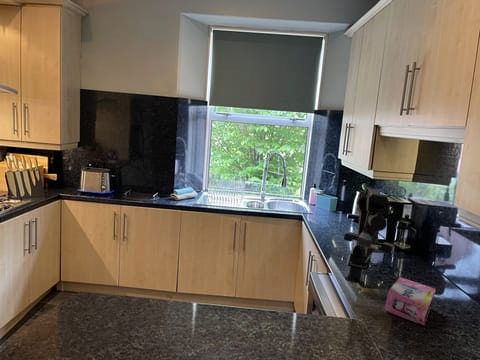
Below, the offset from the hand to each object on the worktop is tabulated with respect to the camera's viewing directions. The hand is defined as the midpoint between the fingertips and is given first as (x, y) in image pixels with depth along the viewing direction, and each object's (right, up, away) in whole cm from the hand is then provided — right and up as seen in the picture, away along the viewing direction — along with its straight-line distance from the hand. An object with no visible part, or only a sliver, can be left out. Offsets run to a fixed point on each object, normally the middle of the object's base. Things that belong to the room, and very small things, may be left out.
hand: (364, 262), depth 146 cm
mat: (+13, -16, -9) cm, 23 cm away
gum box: (+9, -11, -4) cm, 15 cm away
